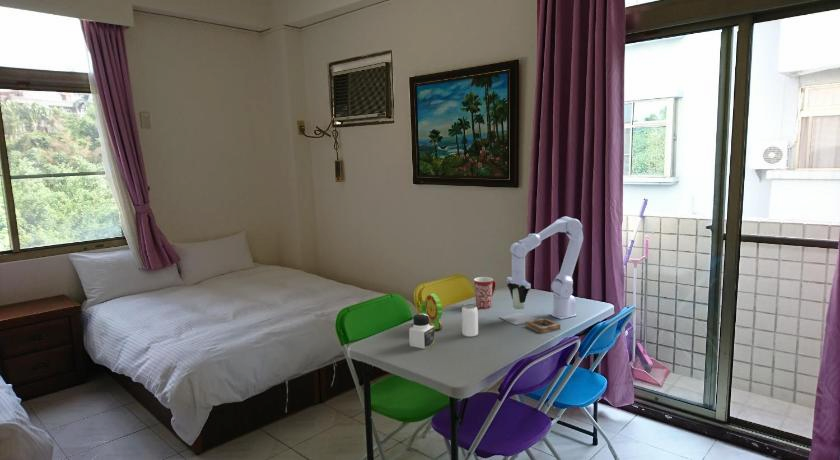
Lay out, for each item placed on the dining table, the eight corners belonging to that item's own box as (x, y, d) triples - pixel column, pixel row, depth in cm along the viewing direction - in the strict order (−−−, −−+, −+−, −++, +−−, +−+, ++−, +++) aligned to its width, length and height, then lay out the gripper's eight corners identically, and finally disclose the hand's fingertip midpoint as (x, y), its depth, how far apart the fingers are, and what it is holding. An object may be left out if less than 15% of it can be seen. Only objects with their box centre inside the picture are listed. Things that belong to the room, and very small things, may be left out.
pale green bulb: (520, 305, 231) (520, 287, 230) (526, 308, 226) (526, 290, 225) (510, 306, 229) (510, 289, 228) (517, 309, 224) (516, 291, 223)
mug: (484, 310, 242) (484, 282, 240) (470, 306, 249) (469, 279, 247) (502, 304, 250) (502, 277, 248) (488, 301, 257) (487, 274, 255)
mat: (521, 313, 236) (521, 312, 236) (538, 320, 226) (538, 319, 226) (499, 317, 231) (499, 316, 231) (515, 325, 220) (515, 324, 220)
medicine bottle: (425, 349, 197) (424, 319, 196) (409, 346, 201) (408, 316, 199) (434, 343, 203) (433, 313, 202) (419, 340, 207) (418, 311, 205)
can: (479, 332, 214) (479, 304, 212) (476, 337, 208) (475, 308, 206) (464, 331, 216) (463, 303, 214) (460, 336, 210) (459, 307, 208)
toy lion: (417, 323, 227) (416, 289, 225) (428, 321, 230) (427, 288, 227) (434, 334, 213) (433, 298, 211) (446, 331, 216) (445, 296, 213)
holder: (544, 322, 223) (544, 317, 223) (560, 329, 215) (560, 324, 214) (525, 326, 219) (525, 321, 219) (541, 333, 210) (541, 328, 210)
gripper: (501, 268, 230) (501, 298, 232) (521, 275, 217) (521, 306, 219) (514, 266, 233) (514, 295, 235) (534, 272, 220) (534, 303, 222)
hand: (518, 300), depth 227 cm, fingers closed on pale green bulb, 5 cm apart
